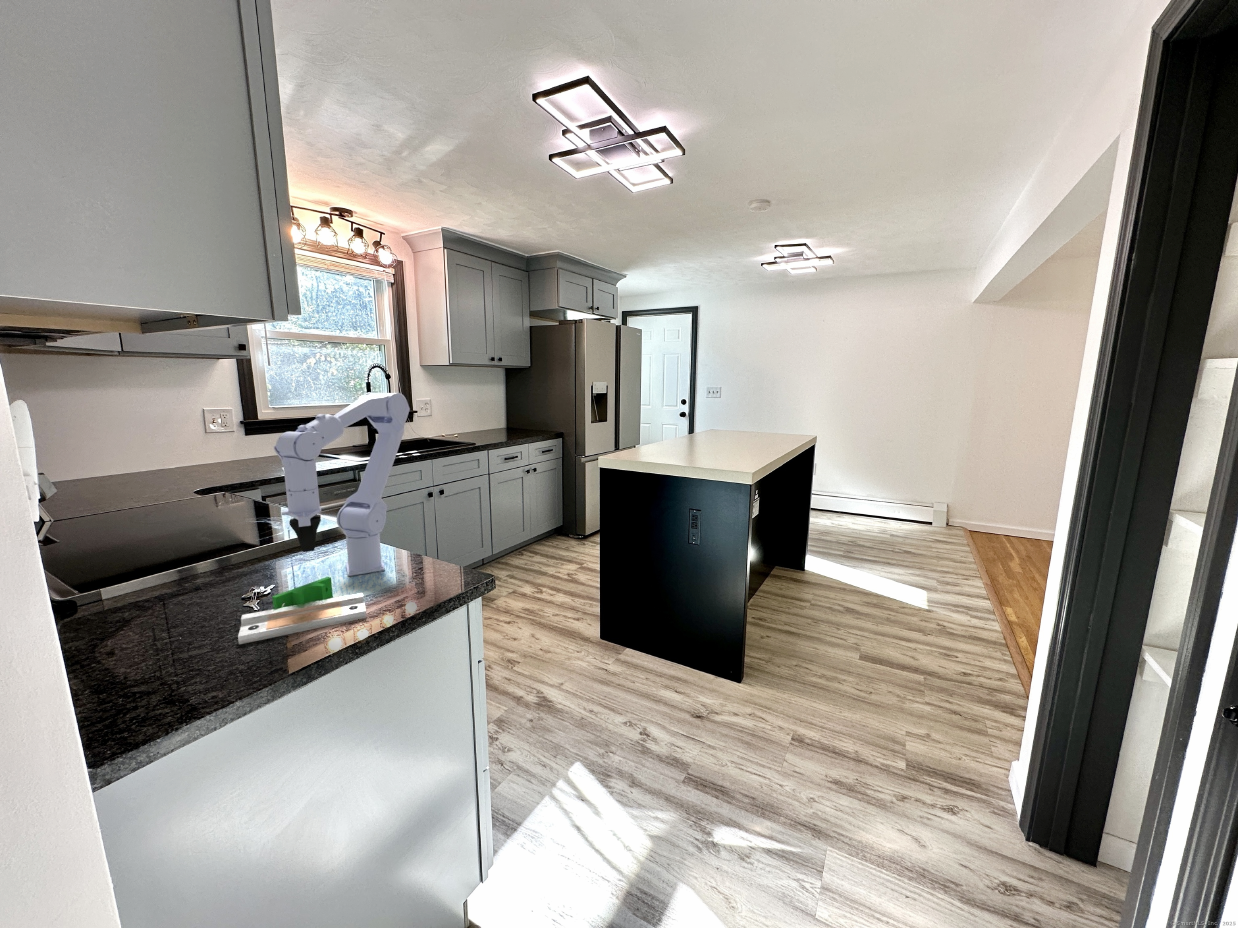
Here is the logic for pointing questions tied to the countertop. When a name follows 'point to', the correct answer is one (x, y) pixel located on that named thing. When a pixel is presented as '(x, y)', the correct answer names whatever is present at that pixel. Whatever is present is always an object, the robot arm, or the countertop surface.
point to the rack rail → (301, 617)
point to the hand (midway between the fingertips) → (308, 550)
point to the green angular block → (305, 594)
